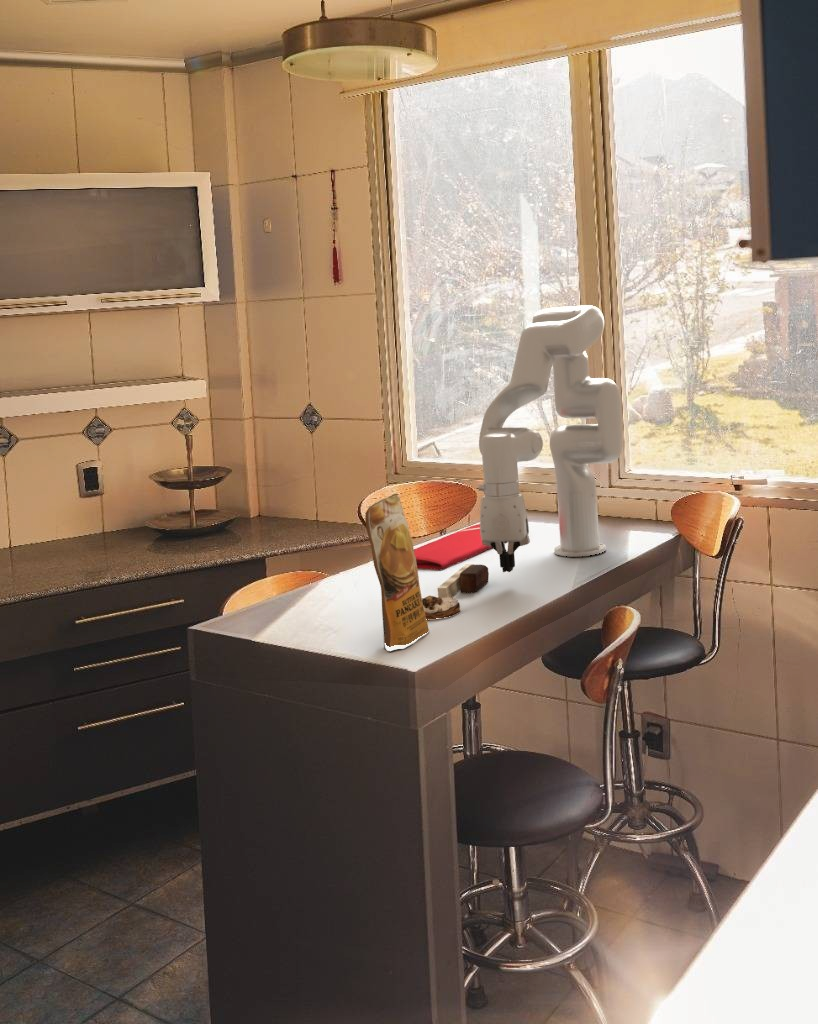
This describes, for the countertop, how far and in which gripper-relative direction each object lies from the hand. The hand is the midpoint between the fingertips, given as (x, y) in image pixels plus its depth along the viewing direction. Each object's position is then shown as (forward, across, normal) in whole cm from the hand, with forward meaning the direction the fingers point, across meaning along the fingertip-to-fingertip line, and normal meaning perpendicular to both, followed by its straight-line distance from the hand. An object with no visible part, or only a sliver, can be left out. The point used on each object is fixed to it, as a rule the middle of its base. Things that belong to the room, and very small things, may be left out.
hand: (508, 570), depth 267 cm
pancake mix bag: (+4, -10, -41) cm, 43 cm away
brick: (+4, -8, 0) cm, 9 cm away
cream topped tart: (+4, -12, -21) cm, 25 cm away
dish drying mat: (+5, -23, +38) cm, 45 cm away
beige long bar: (+4, -12, -1) cm, 12 cm away
